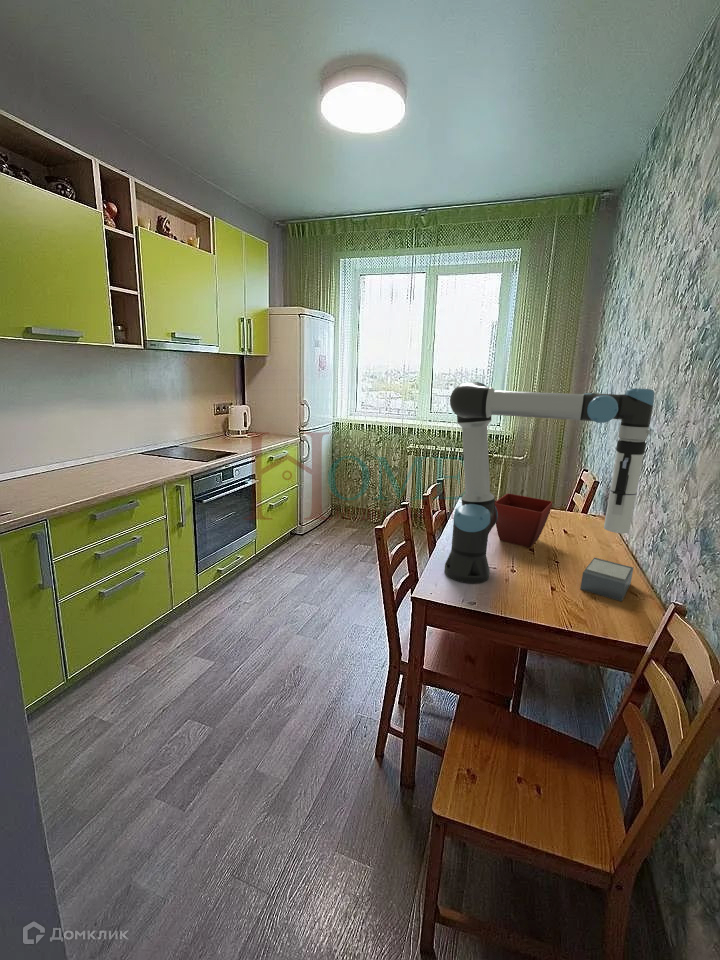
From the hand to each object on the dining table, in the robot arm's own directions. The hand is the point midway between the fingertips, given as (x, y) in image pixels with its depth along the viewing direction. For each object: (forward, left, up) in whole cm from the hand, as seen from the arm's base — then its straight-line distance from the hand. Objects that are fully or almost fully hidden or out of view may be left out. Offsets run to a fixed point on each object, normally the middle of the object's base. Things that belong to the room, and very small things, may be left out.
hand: (619, 511), depth 141 cm
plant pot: (+22, +37, -26) cm, 51 cm away
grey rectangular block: (0, 0, -26) cm, 26 cm away
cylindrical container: (0, 0, -6) cm, 6 cm away
